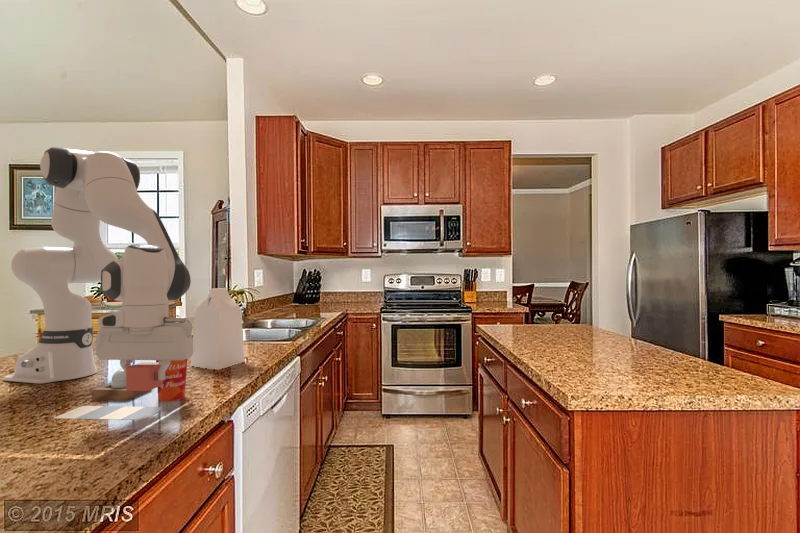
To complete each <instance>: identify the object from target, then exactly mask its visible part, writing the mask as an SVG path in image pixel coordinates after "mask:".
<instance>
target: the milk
mask: <svg viewBox="0 0 800 533" xmlns="http://www.w3.org/2000/svg"><path fill="white" fill-rule="evenodd" d="M193 317H194V318H193V328H192V339H193V350H194V352H193V355H192V356H191V357H190V367H191V366H194V367H193V368H196V367H200V368H199V369H205V368H207V369H206V370H214V369H215V371H219V370H222V368H223V369H225V368H228V367H232V365H233V366H235V364H236V365H239V364H242V362H243V363H244V362H245V359H244V358H245V357H244V355H245V354H244V338H243V337H244V333H243V332H244V331H243V312H242V308H241V306H239V304H238V303H237V302H235V300H234V299H233V298H232V297H231V296H230V295H229V291H228V289H227V287H224V288H223V287H222V288H220V287H219V288H218V287H217V288H210V289H209V294H208V297H206V299H205V300H204V301H203V302H201V303H200V305H199V306H198V307H197V308H196V309H195V311H194V316H193ZM238 363H239V364H238Z"/></svg>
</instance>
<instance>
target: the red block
mask: <svg viewBox="0 0 800 533" xmlns="http://www.w3.org/2000/svg"><path fill="white" fill-rule="evenodd" d="M160 367H161V365H159V362H156V361H155V362H151V361H149V362H148V361H147V362H145V361H143V362H142V361H141V362H139V363H136V364H135V363H134V364H133V365H132V364H131V366H129V367H126V391H147V392H149V391H152V390H154V389H158V387H159V386H161V385H163V380H154V373H155V372H157V371H159V369H160Z"/></svg>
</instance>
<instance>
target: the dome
mask: <svg viewBox="0 0 800 533" xmlns="http://www.w3.org/2000/svg"><path fill="white" fill-rule="evenodd" d="M111 382H112V388H126V379H125V372H124V370H123V369H122V368H121V369H118V370H116V371H115V372H114V373H113V375H112V376H111Z"/></svg>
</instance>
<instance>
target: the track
mask: <svg viewBox="0 0 800 533" xmlns="http://www.w3.org/2000/svg"><path fill="white" fill-rule="evenodd" d="M165 409H167V406H131V405H130V406H127V405H125V406H122V405H121V406H120V405H119V406H118V405H113V406H111V405H81V406H78V407H76V408H74V409H70V410H68V411H66V412H63V413H62V414H59V415H56V416H55V417H53V419H65V420H66V419H68V420H71V419H72V420H73V419H74V420H114V421H115V420H121V421H123V420H126V421H145V420H147V419H149V418H150V417H152V416H154V415H155V414H157V413H160V412H161V411H162V410H165Z"/></svg>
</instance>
